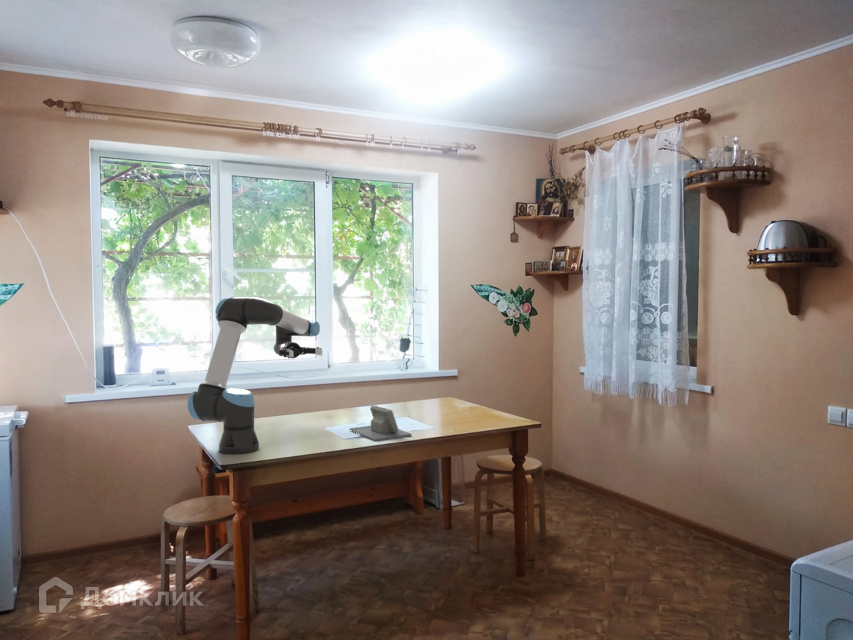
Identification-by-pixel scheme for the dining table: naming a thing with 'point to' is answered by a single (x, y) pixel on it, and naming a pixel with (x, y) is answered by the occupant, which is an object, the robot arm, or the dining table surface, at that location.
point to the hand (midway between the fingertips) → (307, 353)
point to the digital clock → (383, 420)
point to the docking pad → (379, 434)
